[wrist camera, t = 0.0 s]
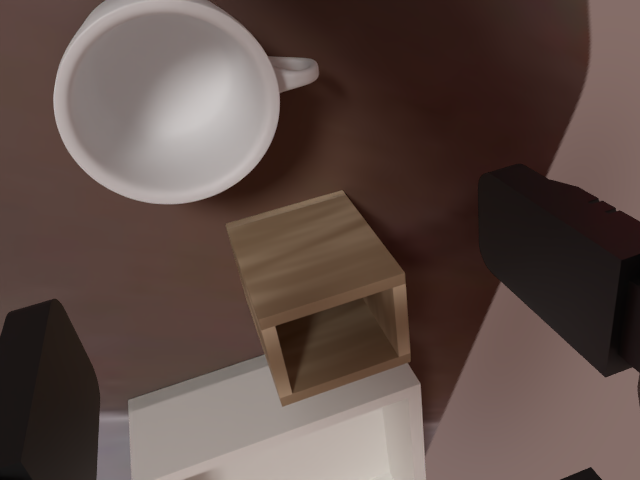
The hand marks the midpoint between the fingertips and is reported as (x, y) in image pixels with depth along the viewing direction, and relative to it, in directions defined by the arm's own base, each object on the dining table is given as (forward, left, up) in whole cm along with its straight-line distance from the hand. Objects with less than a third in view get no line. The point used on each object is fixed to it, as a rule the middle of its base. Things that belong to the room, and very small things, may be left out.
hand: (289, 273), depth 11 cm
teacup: (+1, 0, -18) cm, 18 cm away
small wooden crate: (+12, +3, -17) cm, 21 cm away
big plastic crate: (+27, -1, -17) cm, 32 cm away
